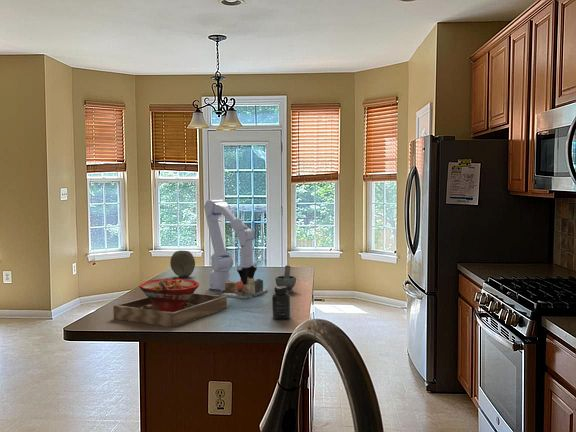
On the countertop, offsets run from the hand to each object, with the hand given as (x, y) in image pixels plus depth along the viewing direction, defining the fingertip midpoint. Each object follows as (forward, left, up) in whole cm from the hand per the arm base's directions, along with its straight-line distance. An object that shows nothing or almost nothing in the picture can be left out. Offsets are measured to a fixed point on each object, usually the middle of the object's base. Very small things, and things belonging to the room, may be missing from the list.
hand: (247, 283), depth 255 cm
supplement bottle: (+38, -36, -5) cm, 53 cm away
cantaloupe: (-57, +23, -5) cm, 62 cm away
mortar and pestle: (+15, +11, -5) cm, 19 cm away
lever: (+2, -10, -3) cm, 11 cm away
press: (+2, 0, -5) cm, 5 cm away
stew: (-6, -50, -5) cm, 50 cm away
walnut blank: (-8, -2, -5) cm, 9 cm away
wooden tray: (-5, -48, -5) cm, 48 cm away
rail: (0, -10, -5) cm, 11 cm away
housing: (0, 0, -3) cm, 3 cm away
